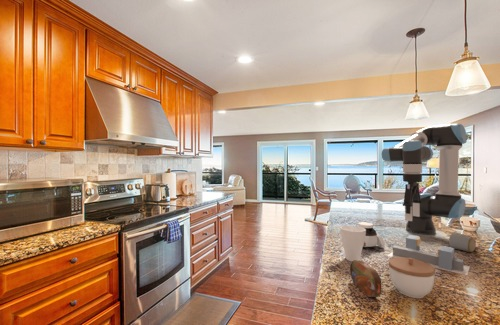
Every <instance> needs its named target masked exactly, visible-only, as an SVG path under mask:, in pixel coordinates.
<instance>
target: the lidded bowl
mask: <svg viewBox="0 0 500 325" xmlns="http://www.w3.org/2000/svg"><path fill="white" fill-rule="evenodd" d="M388 272H389V277H390V281H391V283H392V284H393V285H394V287H395V288H396V289H397V291H398V293H400V294H401V295H403V296H405V297H408V298H412V299H423V298H425V296H427V295H428V294H430V293H431V292H432V290H433V288H434V284H435V274H436V268H435V267H433V266H431V265H430V264H428V263H426V262H423V261H420V260H416V259H413V258H405V257H395V258H393V257H390V259H389V260H388Z"/></svg>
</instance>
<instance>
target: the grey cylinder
mask: <svg viewBox="0 0 500 325" xmlns="http://www.w3.org/2000/svg"><path fill="white" fill-rule="evenodd" d="M448 242H449V243H448V244H449V247H451V248H454V250H459V251H464V252H468V253H472V252H474V251H475V249H476V246H477V243H476V239H475V238H474V237H472V236H470V235H465V234H462V233H458V232H452V233H451V234H450V236H449V240H448Z"/></svg>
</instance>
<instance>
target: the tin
mask: <svg viewBox="0 0 500 325" xmlns="http://www.w3.org/2000/svg"><path fill="white" fill-rule="evenodd" d="M349 272H350V278H351V280H352V283H353V284H354V285H355V287H356V288H358V290H360V291H361V292H362V293H363V294H364V295H365V296H366V297H367V298H378V297H380V296H381V294H382V279H381V276H380V274H379V273H378V271H377V270H376V269H374V268H373V267H372V266H370V265H368V264H367V263H366V262H364V261H362V260H360V261H356V260H354V261H351V263H350V267H349Z"/></svg>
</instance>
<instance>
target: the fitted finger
mask: <svg viewBox="0 0 500 325" xmlns="http://www.w3.org/2000/svg"><path fill="white" fill-rule="evenodd" d="M437 255H438V257H439V268H443V269H447V270H451V271H452V260H453V258H455V248H452V247H450V246H445V245H441V246H439V247H438V248H437ZM439 268H438V269H439ZM443 269H442V270H443ZM447 270H446V271H447ZM451 271H450V272H451Z"/></svg>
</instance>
